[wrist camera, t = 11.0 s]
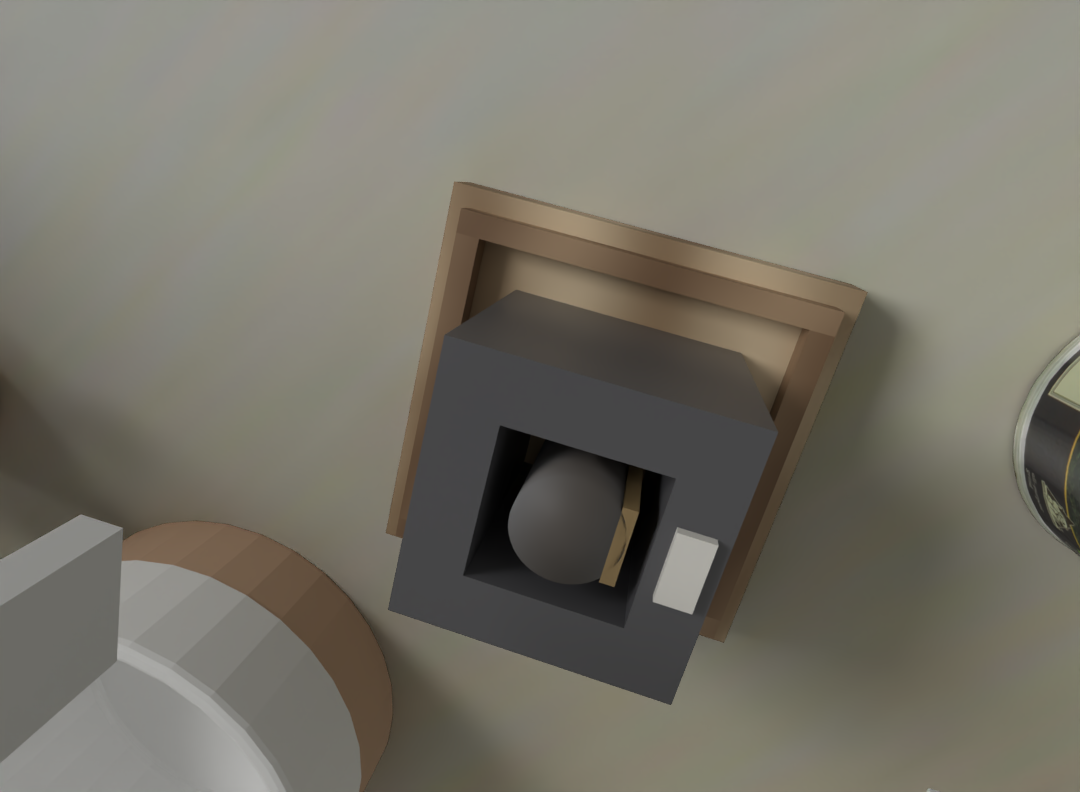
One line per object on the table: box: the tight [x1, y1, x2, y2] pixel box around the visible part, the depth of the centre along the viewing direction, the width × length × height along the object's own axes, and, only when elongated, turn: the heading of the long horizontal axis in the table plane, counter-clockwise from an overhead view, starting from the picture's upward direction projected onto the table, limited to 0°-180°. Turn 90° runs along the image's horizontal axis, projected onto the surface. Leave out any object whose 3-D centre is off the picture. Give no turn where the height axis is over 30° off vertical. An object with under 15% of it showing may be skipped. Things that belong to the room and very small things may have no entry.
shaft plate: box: [386, 182, 868, 643], centre depth 22 cm, size 14×14×10 cm
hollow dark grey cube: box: [388, 290, 778, 705], centre depth 20 cm, size 8×8×8 cm
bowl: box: [0, 521, 393, 792], centre depth 30 cm, size 17×17×8 cm
